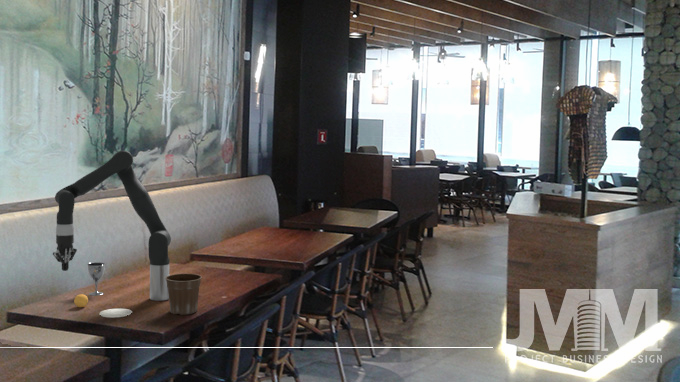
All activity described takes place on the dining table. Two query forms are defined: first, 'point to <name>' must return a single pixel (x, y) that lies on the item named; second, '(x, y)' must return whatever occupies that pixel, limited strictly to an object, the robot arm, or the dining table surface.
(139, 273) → the dining table surface
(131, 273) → the dining table surface
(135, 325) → the dining table surface
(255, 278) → the dining table surface
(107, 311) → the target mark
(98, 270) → the wine glass
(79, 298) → the ball
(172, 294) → the plant pot
